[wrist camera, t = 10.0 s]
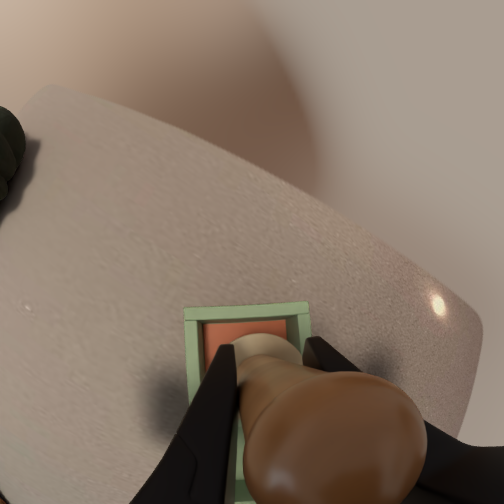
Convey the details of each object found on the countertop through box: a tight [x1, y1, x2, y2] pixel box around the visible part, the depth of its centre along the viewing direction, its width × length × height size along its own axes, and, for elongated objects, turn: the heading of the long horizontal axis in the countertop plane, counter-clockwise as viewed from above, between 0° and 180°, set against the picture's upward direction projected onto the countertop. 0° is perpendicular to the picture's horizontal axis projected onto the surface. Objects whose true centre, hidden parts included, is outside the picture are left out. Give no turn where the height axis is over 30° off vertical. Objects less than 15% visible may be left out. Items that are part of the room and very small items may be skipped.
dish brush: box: [229, 333, 427, 504], centre depth 8 cm, size 4×4×13 cm
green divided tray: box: [184, 301, 312, 504], centre depth 16 cm, size 14×8×4 cm, turn 4°
